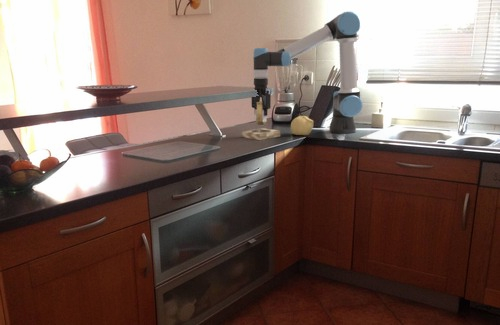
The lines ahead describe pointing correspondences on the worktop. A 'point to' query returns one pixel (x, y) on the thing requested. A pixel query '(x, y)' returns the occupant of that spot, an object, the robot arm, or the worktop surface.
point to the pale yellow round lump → (301, 125)
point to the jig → (260, 134)
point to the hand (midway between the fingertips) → (261, 121)
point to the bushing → (259, 113)
